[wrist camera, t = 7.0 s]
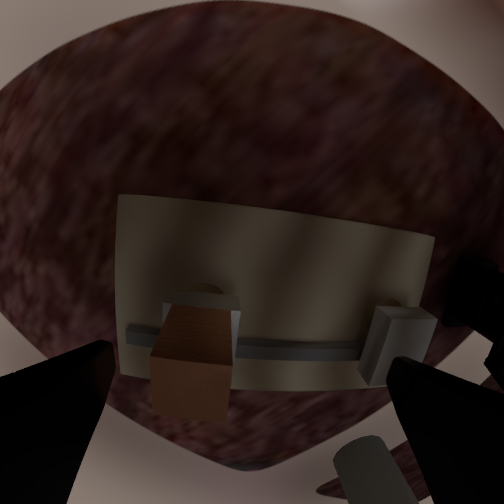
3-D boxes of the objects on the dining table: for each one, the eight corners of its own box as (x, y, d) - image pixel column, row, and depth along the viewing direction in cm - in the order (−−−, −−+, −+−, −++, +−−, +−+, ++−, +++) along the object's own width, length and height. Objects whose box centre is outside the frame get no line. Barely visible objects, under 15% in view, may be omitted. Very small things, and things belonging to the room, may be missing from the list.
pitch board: (424, 233, 20) (466, 247, 15) (383, 376, 23) (409, 410, 18) (126, 193, 18) (93, 197, 13) (126, 363, 21) (106, 403, 16)
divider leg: (238, 289, 18) (246, 367, 10) (230, 357, 19) (233, 451, 11) (173, 282, 18) (136, 354, 10) (171, 351, 19) (145, 440, 11)
